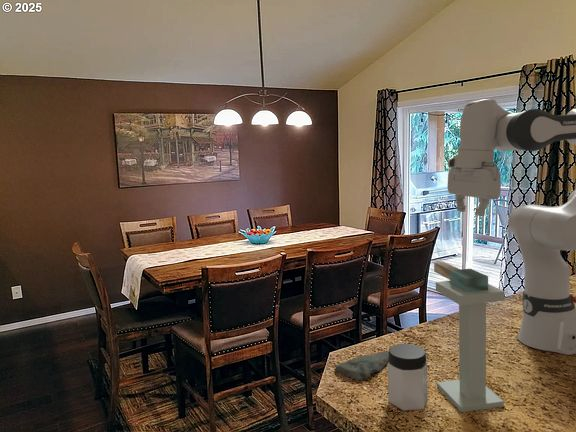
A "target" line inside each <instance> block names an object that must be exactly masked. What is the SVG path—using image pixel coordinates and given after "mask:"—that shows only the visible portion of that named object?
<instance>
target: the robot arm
mask: <svg viewBox="0 0 576 432" xmlns="http://www.w3.org/2000/svg"><path fill="white" fill-rule="evenodd" d="M459 125H460V126H459V138H460V139H459V140H460V143H459V146H458V148H457V154H455V155H454V156H453V157H451V158H450V159H449V160H448V161H447V167H448V169H449V170H448V173H447V191H448V194H450V195H455V196H454V197H455V198H454V199H455V202H456V211H457V212H459V213H463V212H466V208H467V205H465V199H466V197H470V198H477V199H478V207H477V208H475V213H474V214H475V215H476V216H478V217H485V216H486V210H487V208H488V206H489V204H490V200H499V198H500V196H501V191H502V189H501V186H502V185H501V184H502V183H501V182H502V181H501V180H502V179H501V177H502V176H501V171H500V168H499V166H498V165H497V163H496V162H494V156H495V155H494V154H495V150H497V151H501V152H509V151H511V152H512V151H515V152H516V151H525V152H536V151H540V150H542V149H545V148H546V147H548V146H549V145H551V144H553V143H555V142H560V141H567V142H568V143H569V144H570V145H573V146H576V108H573V109H571V110H569V111H568V112H567V114H560V115H559V114H558V115H557V114H554V113H553V114H552V113H550V112H548V111H546V110H543V109H540V108H539V109H538V108H531V109H528V110H527V109H526V110H523V111H520V112H515V113H514V112H513V113H512V112H509V111H507V110H506V109H504V108H503V107H502V106H500V105H499V104H498V103H497V100H495V99H493V98H486V99H478V100H474V101H470V102H468V103H466V105H464V107H463V110H462V113H461V119H460V124H459ZM507 224H508V225H507V226H508V229H509V230H510V232H511V233H512V235H513V236H514V238H515V239H516V241H517V244H518V248H519V250H520V253H521V257H522V262H523V268H524V271H523V272H524V290H523V291H522V309H523V310H522V311H523V312H522V321H521V324H520V329H519V330H518V331H519V332H518V335H517V340H518V341H519V342H520V343H521V344H523V345H525V346H528V347H531V348H533V349H536V350H540V351H546V352H554V353H558V354H562V355H567V356H572V355H575V354H576V305H575V303H576V295H574V296H573V295H572V294H570V289H571V288H570V286H571V278H570V277H571V269H570V266H569V265H568V263H567V262H566V261H565V260H564V258H563V257H562V255H561V252H560V251H576V189H575V190H572V191H571V192H570V194H569V196H568V198H567V202H566V203H564V204H560V205H556V206H555V205H554V206H549V205H542V204H541V205H540V204H527V205H521V206H518V207H515V208H514V209H513V210H512V211H511V213H510V215H509V217H508V221H507Z"/></svg>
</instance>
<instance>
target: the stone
mask: <svg viewBox="0 0 576 432" xmlns="http://www.w3.org/2000/svg"><path fill="white" fill-rule="evenodd" d="M388 362H389V351H382V352H381V351H379V352H377V353H373V354H365V355H361V356H359V357H355V358H351V359H349V360H347V361H345V362H340V363H338V364H337V365H335V368H334V370H335V371H336V372H337V373H340V374H341V375H344V376H346V377H348V378H351V379H353V380H354V381H358V382H359V381H364V380H366V379H368V378H369V377H370V376H371V374H373V373H378V372H380V371H382V369H383V368H384V367H385V366H386V365H388Z"/></svg>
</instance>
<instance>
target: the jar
mask: <svg viewBox="0 0 576 432" xmlns="http://www.w3.org/2000/svg"><path fill="white" fill-rule="evenodd" d="M388 352H389V361H388V363H387V393H388V402H389V403H390V404H392V405H394V406H395V407H397V408H398V409H400V410H401V411H417V410H424V409H425V407H426V404H427V401H428V399H429V397H428V393H429V392H428V391H429V390H428V361H427V353H426V350H425V349H424V348H422V347H421V346H419V345H415V344H411V343H399V344H395V345H392V346H391V347H390V348H388Z"/></svg>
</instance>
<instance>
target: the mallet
mask: <svg viewBox="0 0 576 432" xmlns="http://www.w3.org/2000/svg"><path fill="white" fill-rule="evenodd" d="M433 272H434V273H436V274H438V275H440V276H441V277H444V278H446V279H447V280H448V281H450V284H452V285H454V286H456V287H458V288H460V289H461V290H463V291H465V292H473V291H483V290H488V284H489V276H488V275H486V274H484V273H481V272H479V271H477V270H475V269H472V268H463V269H461V268H458V267H456V266H453V265H452V264H449V263H448V262H446V261H443V260H442V261H434V262H433Z"/></svg>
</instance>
